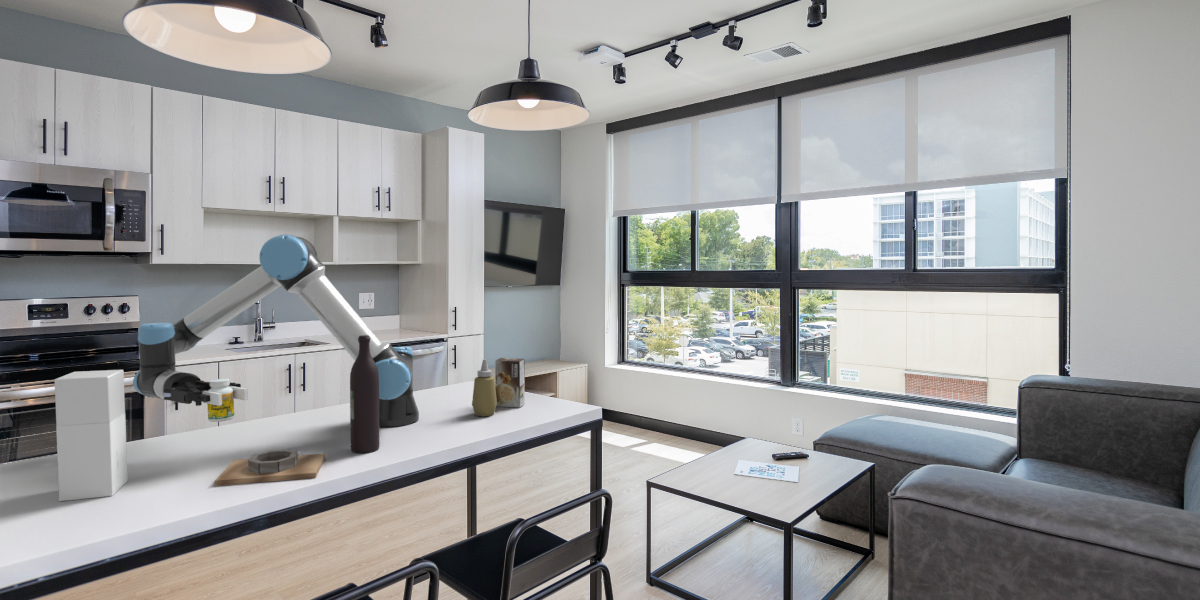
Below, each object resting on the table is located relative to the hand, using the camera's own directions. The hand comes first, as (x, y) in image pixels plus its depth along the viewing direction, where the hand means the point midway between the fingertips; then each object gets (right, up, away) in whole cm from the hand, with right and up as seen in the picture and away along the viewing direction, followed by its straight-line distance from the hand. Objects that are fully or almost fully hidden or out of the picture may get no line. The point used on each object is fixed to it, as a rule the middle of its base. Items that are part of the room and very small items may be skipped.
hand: (233, 397), depth 141 cm
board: (+10, -17, -1) cm, 20 cm away
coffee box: (+55, -14, +67) cm, 88 cm away
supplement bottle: (-5, -6, +3) cm, 8 cm away
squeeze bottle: (+49, -15, +53) cm, 74 cm away
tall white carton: (-20, -18, -15) cm, 31 cm away
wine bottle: (+25, -17, +16) cm, 34 cm away
